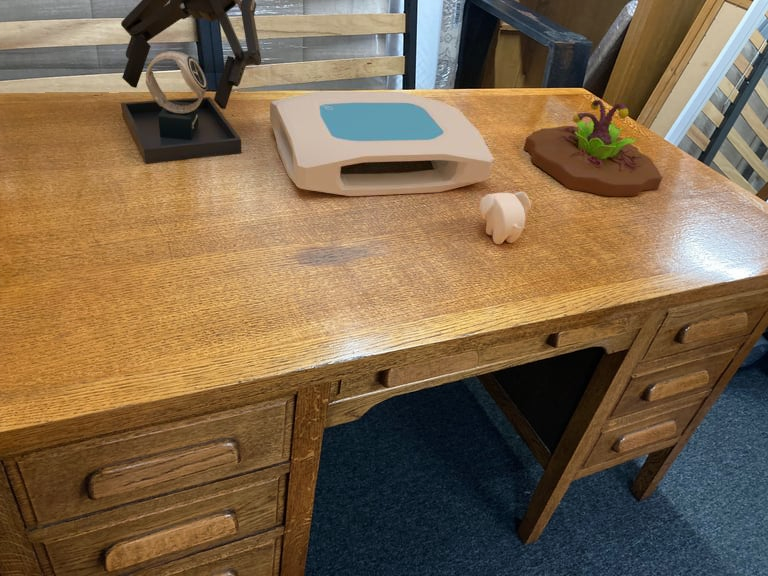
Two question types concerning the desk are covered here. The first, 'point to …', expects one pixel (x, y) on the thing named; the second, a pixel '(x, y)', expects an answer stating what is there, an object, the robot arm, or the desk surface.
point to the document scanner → (376, 142)
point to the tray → (207, 139)
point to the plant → (593, 156)
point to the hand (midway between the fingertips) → (173, 94)
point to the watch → (178, 116)
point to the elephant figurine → (505, 215)
